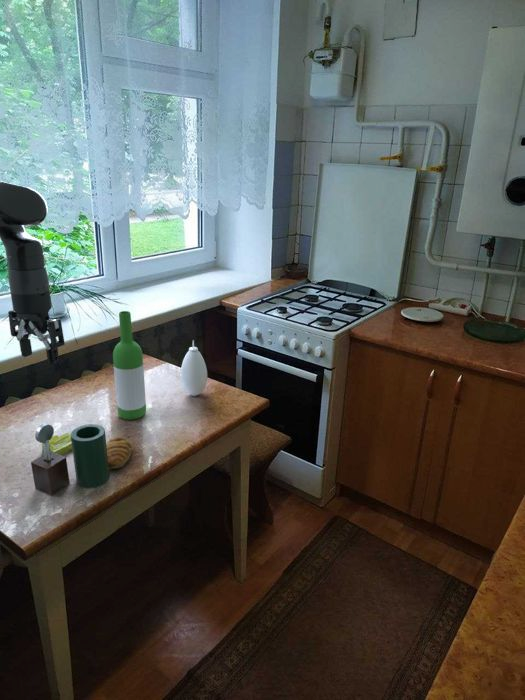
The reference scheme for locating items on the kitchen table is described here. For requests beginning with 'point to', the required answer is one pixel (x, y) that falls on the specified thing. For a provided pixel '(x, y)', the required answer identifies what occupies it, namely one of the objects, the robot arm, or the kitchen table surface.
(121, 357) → the wine bottle
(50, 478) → the spoon stand
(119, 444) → the pastry
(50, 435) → the spoon
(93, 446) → the green hollow tube
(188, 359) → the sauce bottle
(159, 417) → the kitchen table surface
